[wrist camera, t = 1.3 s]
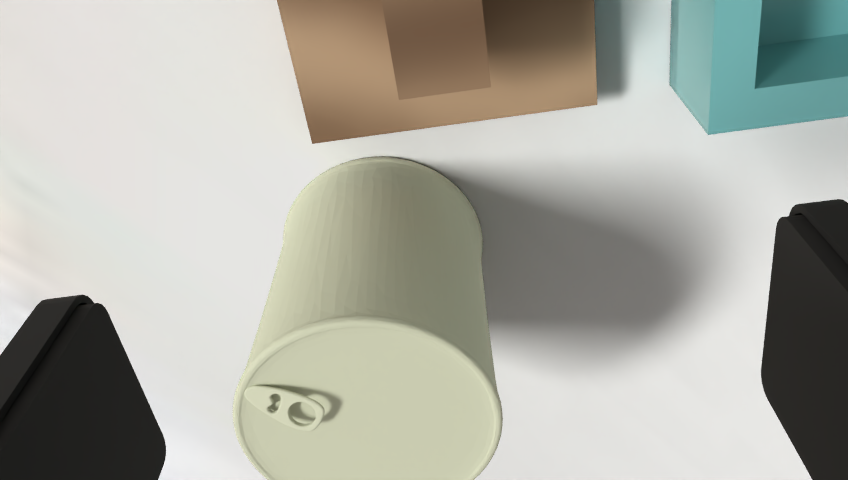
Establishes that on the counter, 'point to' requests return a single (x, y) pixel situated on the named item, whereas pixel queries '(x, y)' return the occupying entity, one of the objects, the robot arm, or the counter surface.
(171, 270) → the counter surface
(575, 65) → the lid
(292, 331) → the can
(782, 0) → the dish
